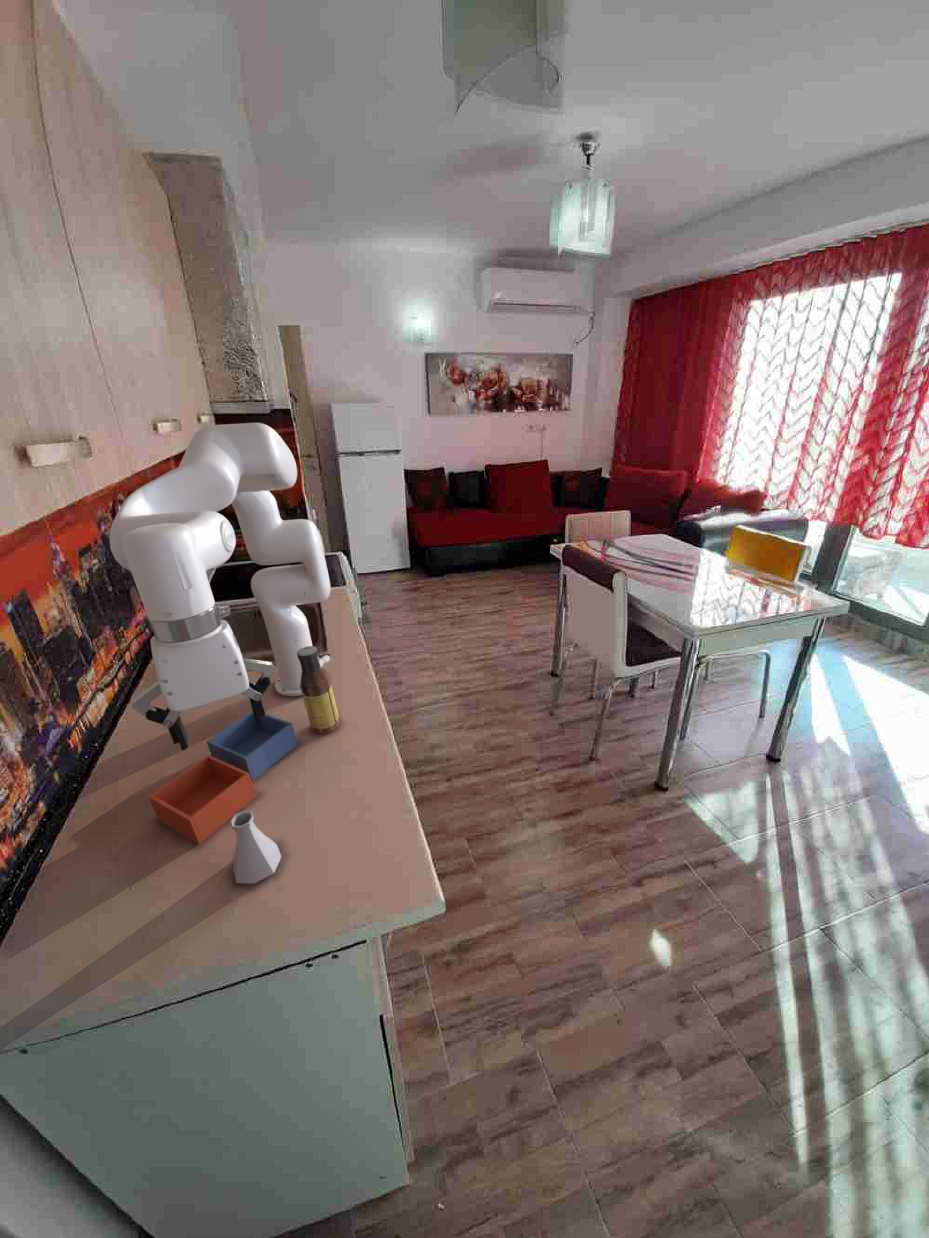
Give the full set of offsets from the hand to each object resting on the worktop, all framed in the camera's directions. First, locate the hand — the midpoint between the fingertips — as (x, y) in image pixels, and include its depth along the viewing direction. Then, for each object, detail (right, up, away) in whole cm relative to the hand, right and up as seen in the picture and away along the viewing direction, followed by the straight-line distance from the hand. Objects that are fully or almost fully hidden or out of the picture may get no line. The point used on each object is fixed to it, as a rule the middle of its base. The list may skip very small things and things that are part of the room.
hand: (223, 732), depth 67 cm
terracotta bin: (-12, -18, +19) cm, 29 cm away
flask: (+2, -23, +8) cm, 24 cm away
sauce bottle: (+3, -8, +39) cm, 40 cm away
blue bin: (-9, -12, +32) cm, 35 cm away
